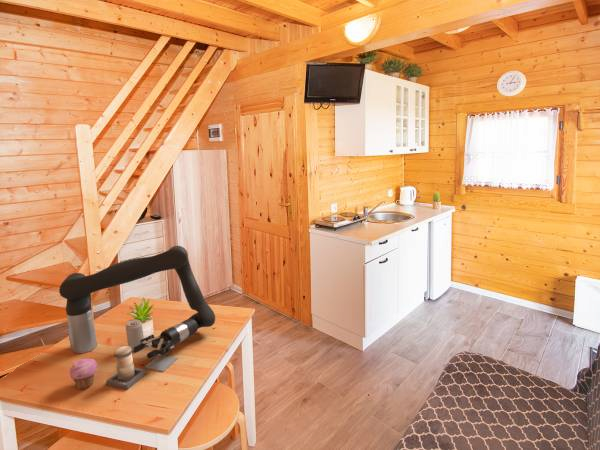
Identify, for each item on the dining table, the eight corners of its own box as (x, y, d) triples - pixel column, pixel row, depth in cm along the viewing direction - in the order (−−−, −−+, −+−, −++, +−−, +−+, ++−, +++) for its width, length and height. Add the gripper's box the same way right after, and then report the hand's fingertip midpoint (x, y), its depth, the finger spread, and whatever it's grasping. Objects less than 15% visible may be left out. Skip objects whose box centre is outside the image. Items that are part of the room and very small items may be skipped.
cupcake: (75, 380, 137) (70, 356, 135) (101, 375, 140) (97, 351, 138) (70, 395, 129) (65, 370, 127) (97, 389, 132) (93, 364, 130)
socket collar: (106, 384, 135) (106, 380, 134) (126, 369, 143) (125, 365, 143) (128, 389, 132) (127, 385, 131) (146, 373, 141) (146, 369, 140)
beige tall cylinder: (114, 382, 136) (110, 353, 133) (126, 373, 141) (122, 344, 139) (127, 385, 134) (123, 355, 131) (138, 375, 139) (135, 347, 137)
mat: (144, 368, 144) (144, 367, 144) (159, 355, 152) (159, 354, 152) (163, 371, 141) (163, 370, 141) (177, 358, 150) (177, 357, 150)
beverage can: (129, 353, 155) (125, 327, 152) (128, 346, 160) (124, 321, 158) (145, 349, 157) (142, 323, 155) (144, 342, 163) (140, 317, 160)
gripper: (163, 322, 158) (128, 339, 145) (185, 331, 150) (151, 349, 137) (164, 338, 160) (130, 356, 146) (187, 347, 152) (153, 367, 139)
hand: (140, 353), depth 142 cm, fingers open, 8 cm apart
